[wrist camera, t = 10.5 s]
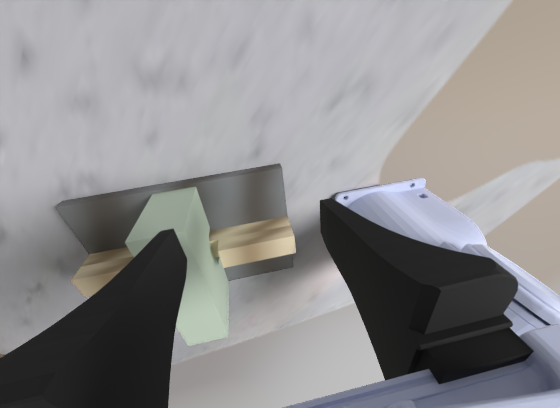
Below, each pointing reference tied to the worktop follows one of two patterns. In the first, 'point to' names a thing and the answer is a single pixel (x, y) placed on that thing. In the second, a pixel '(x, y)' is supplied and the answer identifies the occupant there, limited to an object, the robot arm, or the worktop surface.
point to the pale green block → (189, 262)
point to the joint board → (220, 214)
